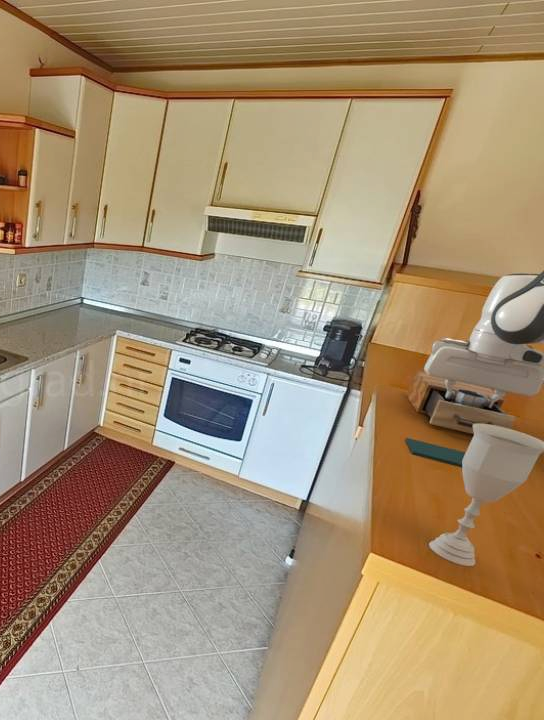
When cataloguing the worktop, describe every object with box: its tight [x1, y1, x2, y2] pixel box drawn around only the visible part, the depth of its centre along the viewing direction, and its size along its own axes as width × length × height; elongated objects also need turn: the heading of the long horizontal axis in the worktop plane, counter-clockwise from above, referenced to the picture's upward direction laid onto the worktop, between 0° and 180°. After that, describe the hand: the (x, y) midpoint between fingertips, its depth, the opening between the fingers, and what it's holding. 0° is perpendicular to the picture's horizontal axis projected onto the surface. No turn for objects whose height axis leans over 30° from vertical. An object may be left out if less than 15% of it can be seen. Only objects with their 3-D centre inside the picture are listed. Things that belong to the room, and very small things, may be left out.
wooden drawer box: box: [424, 388, 516, 435], centre depth 113 cm, size 19×13×6 cm
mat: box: [405, 437, 466, 468], centre depth 98 cm, size 14×8×1 cm, turn 61°
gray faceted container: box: [450, 389, 488, 409], centre depth 114 cm, size 6×6×6 cm
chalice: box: [428, 423, 544, 567], centre depth 64 cm, size 7×7×18 cm
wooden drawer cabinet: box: [406, 370, 505, 416], centre depth 124 cm, size 15×15×8 cm
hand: (467, 402), depth 114 cm, fingers closed on gray faceted container, 5 cm apart
